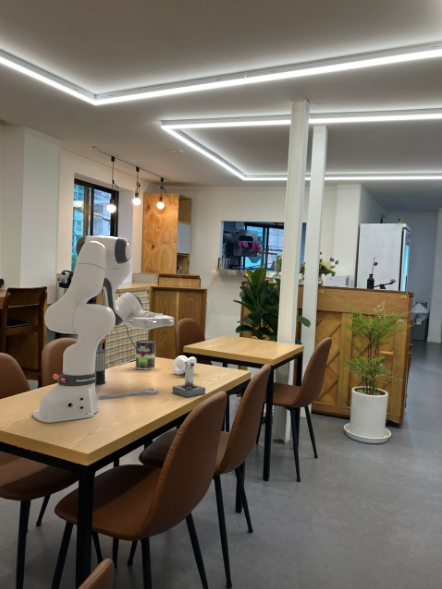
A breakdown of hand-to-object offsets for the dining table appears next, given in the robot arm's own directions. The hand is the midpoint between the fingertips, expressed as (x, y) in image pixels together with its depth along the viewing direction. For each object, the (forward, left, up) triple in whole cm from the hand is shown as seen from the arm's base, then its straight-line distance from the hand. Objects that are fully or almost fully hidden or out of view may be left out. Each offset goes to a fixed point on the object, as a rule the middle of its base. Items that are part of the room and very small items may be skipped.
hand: (163, 323), depth 204 cm
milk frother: (-21, +28, -29) cm, 46 cm away
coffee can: (+18, +39, -29) cm, 52 cm away
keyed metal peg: (+4, -15, -29) cm, 32 cm away
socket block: (+4, -15, -29) cm, 32 cm away
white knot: (+25, +14, -29) cm, 41 cm away
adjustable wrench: (-18, -2, -29) cm, 34 cm away
